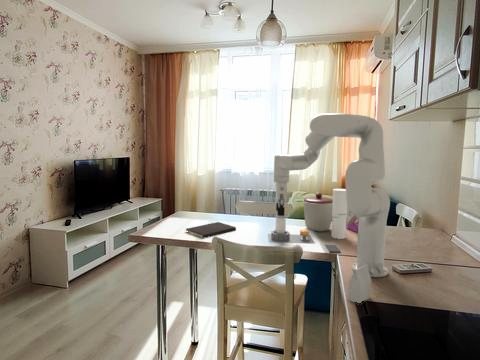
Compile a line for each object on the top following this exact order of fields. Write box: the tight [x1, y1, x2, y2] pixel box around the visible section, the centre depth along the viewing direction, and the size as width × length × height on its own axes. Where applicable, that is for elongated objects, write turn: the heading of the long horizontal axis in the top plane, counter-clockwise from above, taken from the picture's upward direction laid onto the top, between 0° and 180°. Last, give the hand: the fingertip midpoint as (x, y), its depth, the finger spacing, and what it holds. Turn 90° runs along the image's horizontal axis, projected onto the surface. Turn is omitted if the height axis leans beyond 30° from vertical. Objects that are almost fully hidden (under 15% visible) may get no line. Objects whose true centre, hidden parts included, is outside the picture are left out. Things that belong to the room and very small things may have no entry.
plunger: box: [299, 229, 310, 240], centre depth 152 cm, size 4×4×4 cm
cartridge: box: [274, 213, 287, 234], centre depth 152 cm, size 5×5×12 cm
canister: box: [302, 192, 333, 232], centre depth 172 cm, size 18×18×21 cm
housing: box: [267, 229, 316, 244], centre depth 152 cm, size 14×22×4 cm, turn 87°
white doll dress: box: [347, 265, 372, 304], centre depth 94 cm, size 4×7×10 cm, turn 130°
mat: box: [324, 244, 342, 254], centre depth 140 cm, size 9×9×1 cm
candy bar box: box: [346, 207, 360, 233], centre depth 171 cm, size 11×5×16 cm, turn 22°
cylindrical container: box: [330, 188, 347, 240], centre depth 158 cm, size 7×7×25 cm
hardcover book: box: [185, 221, 237, 238], centre depth 169 cm, size 16×23×2 cm
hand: (280, 213), depth 152 cm, fingers open, 9 cm apart
